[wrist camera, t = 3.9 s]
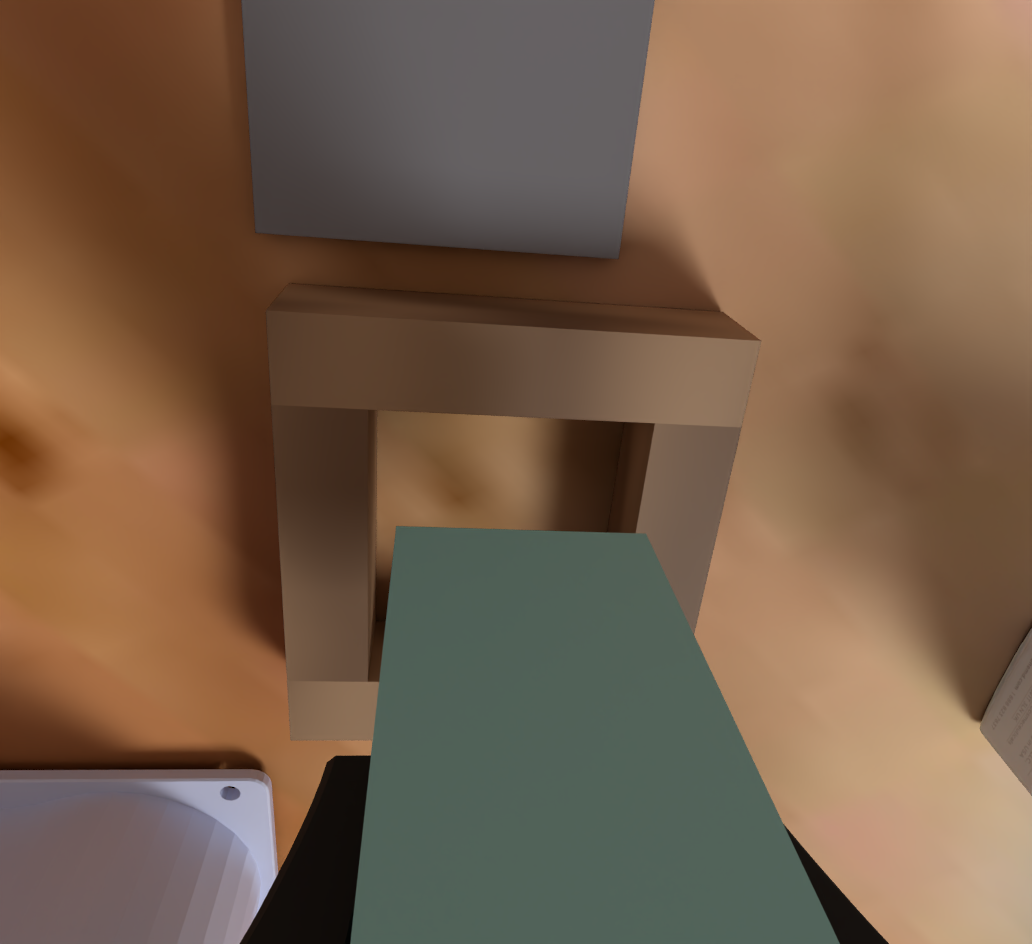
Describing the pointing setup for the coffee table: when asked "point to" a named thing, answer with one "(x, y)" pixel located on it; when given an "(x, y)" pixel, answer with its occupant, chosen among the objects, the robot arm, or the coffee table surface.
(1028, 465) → the coffee table surface
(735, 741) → the teal block
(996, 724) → the skincare box
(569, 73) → the mat
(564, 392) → the block
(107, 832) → the robot arm
